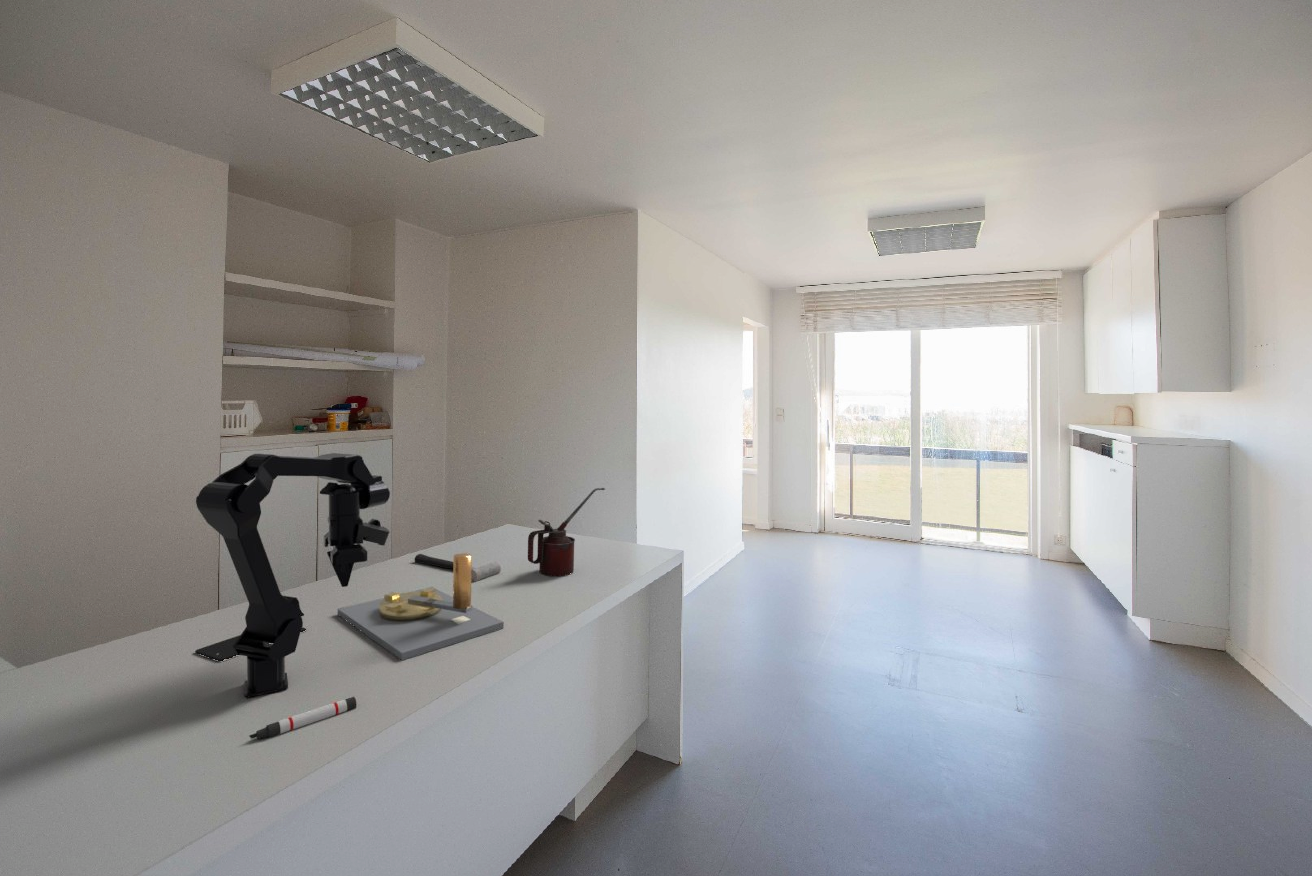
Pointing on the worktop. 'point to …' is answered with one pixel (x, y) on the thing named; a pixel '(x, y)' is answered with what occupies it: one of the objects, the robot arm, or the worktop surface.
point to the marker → (305, 718)
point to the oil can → (555, 547)
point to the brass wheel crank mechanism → (431, 596)
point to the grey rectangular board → (419, 627)
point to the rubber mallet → (475, 572)
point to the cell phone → (222, 649)
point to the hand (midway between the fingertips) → (344, 586)
